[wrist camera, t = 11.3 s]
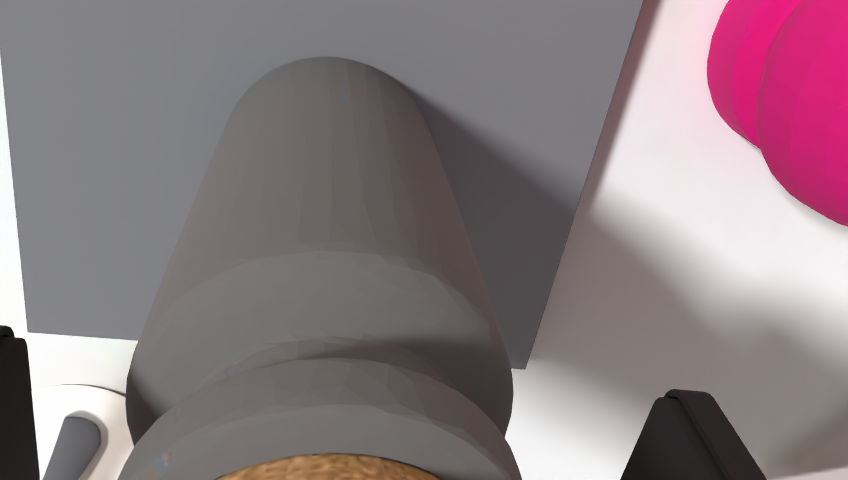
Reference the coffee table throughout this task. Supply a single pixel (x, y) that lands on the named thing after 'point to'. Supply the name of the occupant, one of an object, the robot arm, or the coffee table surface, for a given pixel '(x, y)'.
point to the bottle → (322, 303)
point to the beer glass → (80, 433)
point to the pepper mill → (788, 92)
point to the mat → (230, 79)
